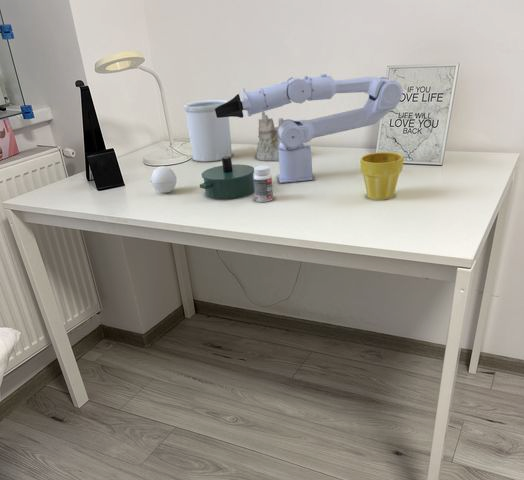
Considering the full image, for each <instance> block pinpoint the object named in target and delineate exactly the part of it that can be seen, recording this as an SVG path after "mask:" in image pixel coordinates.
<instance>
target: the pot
mask: <svg viewBox="0 0 524 480" xmlns="http://www.w3.org/2000/svg"><path fill="white" fill-rule="evenodd" d="M254 175H255V173H253V174H252V175H250V176H248V177H245V178H241V179H236V180H229V181H210V180H206V179H204V178H203V183H199V188H200V189H203V190H204V191H205V196H206V197H207V198H208V199H212V200H219V201H220V200H221V201H226V200H236V199H241V198H245V197H248V196H250V195H252V194H253V193H255V188H254Z"/></svg>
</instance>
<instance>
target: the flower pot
mask: <svg viewBox="0 0 524 480" xmlns="http://www.w3.org/2000/svg"><path fill="white" fill-rule="evenodd" d="M359 163H360V165H359V167H360V168H359V169H360V173H361V174H362V176H363V181H364V185H365V191H366V196H367V198H368V199H370V200H373V201H384V200H389V199H392V198H393V197H394V195H395V192H396V189H397V185H398V181H399V178H400V177H399V176H400V174H401V173H402V171H403V167H404V156H403V154H400V153H398V152H393V151H380V152H379V151H378V152H372V153H368V154H365V155H363V156H361V158H360V161H359Z"/></svg>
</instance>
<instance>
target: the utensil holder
mask: <svg viewBox="0 0 524 480" xmlns="http://www.w3.org/2000/svg"><path fill="white" fill-rule="evenodd" d="M228 101H229V100H227V99H205V100H198V101H191V102H188V103H185V104H184V105H183V110H184V112H185V118H186V123H187V130H188V136H189V144H190V148H191V154H192V159H193V160H194V161H196V162H217V161H222V157H225V156H230V157H232V155H233V153H232V152H233V151H232V137H231V136H232V135H231V125H230V124H231V123H230V117H222V118H217V116H216V112H215V108H217V107H218V106H220V105H223V104H225V103H227V102H228Z"/></svg>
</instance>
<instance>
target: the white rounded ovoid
mask: <svg viewBox="0 0 524 480" xmlns="http://www.w3.org/2000/svg"><path fill="white" fill-rule="evenodd" d="M177 181H178V180H177V174H176V173H175V172H174V170H173V169H172V168H171V167H169V166H165V165H162V166H158V167H156V168H154V170H153V171H152V173H151V176H150V183H151V185H152V187H153V188H154V189H155V190H156V191H157V192H159V193H161V194H167V193H170V192H172V191H173V190H174V189H175V188H176V185H177Z"/></svg>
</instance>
